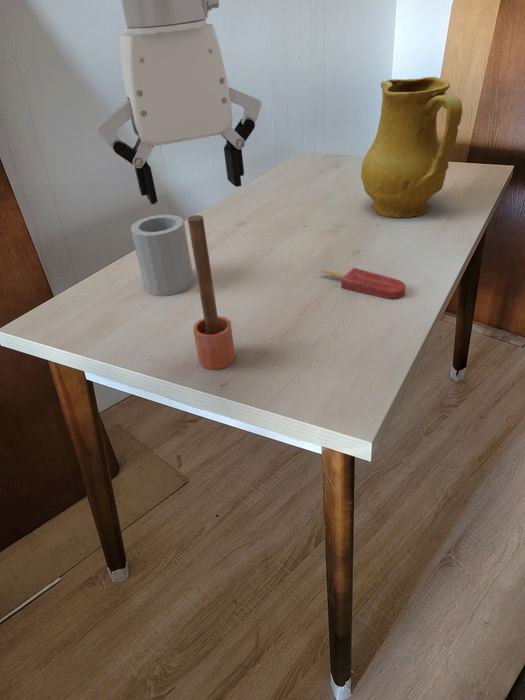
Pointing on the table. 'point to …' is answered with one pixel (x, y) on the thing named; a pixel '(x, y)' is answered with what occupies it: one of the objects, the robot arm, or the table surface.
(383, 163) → the pitcher
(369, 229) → the table surface
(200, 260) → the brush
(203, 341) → the pen cup
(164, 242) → the grey hollow cylinder
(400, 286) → the popsicle
